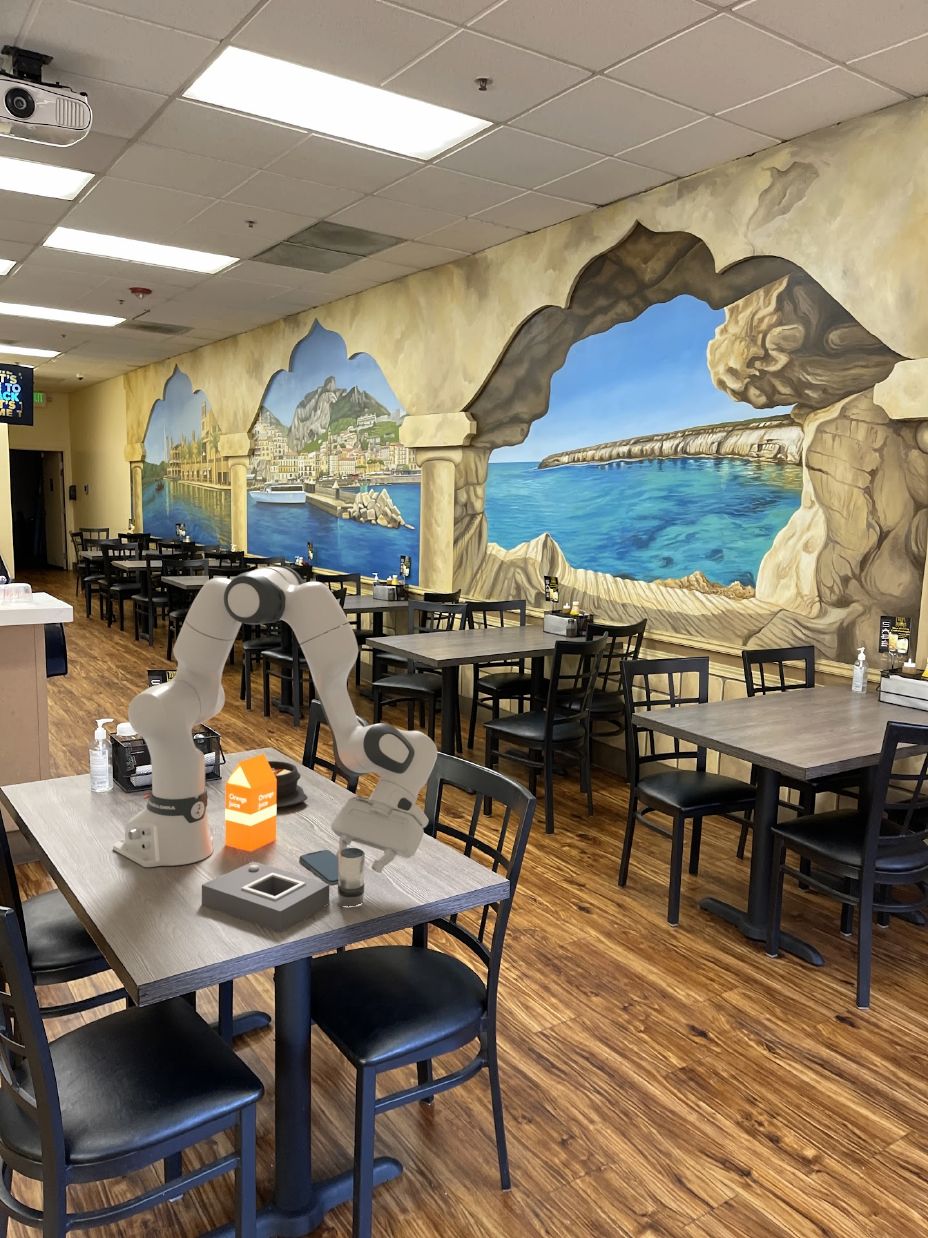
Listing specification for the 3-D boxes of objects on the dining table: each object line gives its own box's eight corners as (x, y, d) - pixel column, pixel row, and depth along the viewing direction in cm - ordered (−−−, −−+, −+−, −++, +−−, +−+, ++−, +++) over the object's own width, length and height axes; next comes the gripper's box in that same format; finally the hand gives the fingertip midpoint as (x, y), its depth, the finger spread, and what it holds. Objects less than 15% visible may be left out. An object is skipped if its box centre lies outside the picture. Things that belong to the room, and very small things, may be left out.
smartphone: (329, 882, 177) (297, 855, 189) (329, 889, 177) (297, 862, 189) (362, 873, 182) (328, 848, 194) (361, 881, 182) (328, 855, 194)
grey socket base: (201, 904, 166) (201, 882, 166) (253, 879, 179) (253, 858, 178) (280, 932, 157) (280, 908, 156) (329, 904, 169) (329, 881, 168)
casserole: (212, 794, 232) (212, 764, 231) (272, 781, 245) (272, 752, 244) (262, 819, 214) (262, 786, 213) (324, 804, 227) (324, 773, 226)
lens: (332, 904, 169) (332, 853, 168) (348, 894, 173) (349, 845, 172) (353, 910, 166) (354, 859, 165) (369, 901, 171) (370, 851, 170)
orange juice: (224, 844, 197) (224, 759, 194) (251, 833, 205) (251, 751, 202) (251, 852, 193) (251, 765, 191) (276, 839, 201) (277, 756, 199)
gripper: (345, 786, 181) (311, 844, 174) (422, 807, 169) (389, 870, 163) (359, 801, 185) (326, 859, 178) (435, 823, 174) (403, 885, 167)
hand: (357, 864), depth 170 cm, fingers open, 8 cm apart
